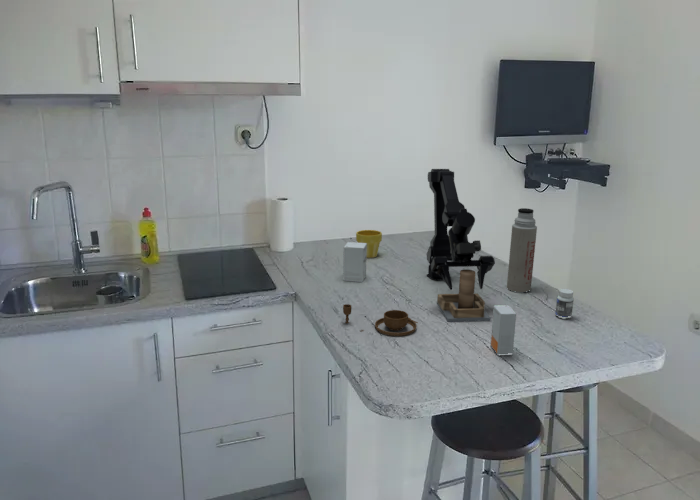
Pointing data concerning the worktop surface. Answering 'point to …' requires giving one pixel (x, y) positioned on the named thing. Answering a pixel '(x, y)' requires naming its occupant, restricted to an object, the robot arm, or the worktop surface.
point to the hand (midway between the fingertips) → (466, 289)
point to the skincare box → (503, 329)
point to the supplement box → (354, 261)
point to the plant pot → (370, 241)
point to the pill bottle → (564, 303)
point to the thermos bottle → (522, 251)
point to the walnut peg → (466, 289)
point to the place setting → (389, 321)
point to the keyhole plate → (453, 314)
